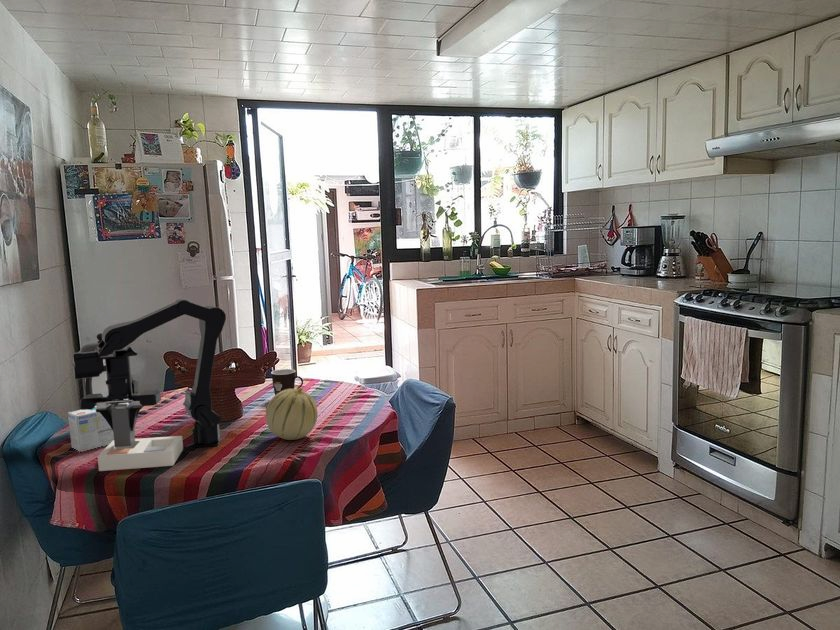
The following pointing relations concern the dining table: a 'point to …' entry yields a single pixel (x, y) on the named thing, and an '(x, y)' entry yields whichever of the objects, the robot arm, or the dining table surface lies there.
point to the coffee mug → (284, 380)
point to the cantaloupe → (291, 414)
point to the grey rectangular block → (122, 426)
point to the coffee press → (96, 383)
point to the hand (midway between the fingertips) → (124, 431)
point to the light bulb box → (89, 429)
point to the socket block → (141, 454)
